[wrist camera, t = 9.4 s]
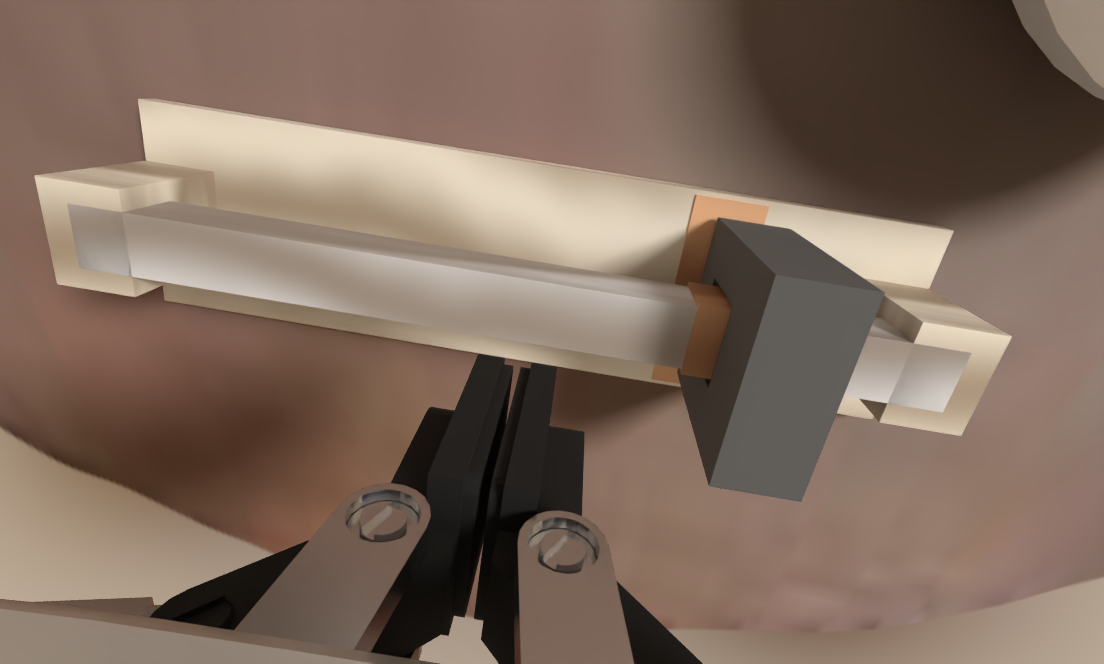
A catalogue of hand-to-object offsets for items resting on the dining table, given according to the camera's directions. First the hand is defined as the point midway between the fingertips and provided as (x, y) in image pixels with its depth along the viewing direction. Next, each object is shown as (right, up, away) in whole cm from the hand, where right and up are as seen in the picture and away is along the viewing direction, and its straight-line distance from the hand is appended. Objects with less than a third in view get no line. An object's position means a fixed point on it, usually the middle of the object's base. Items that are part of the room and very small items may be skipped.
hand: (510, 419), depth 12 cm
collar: (+9, +3, +12) cm, 15 cm away
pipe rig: (0, +5, +14) cm, 15 cm away
